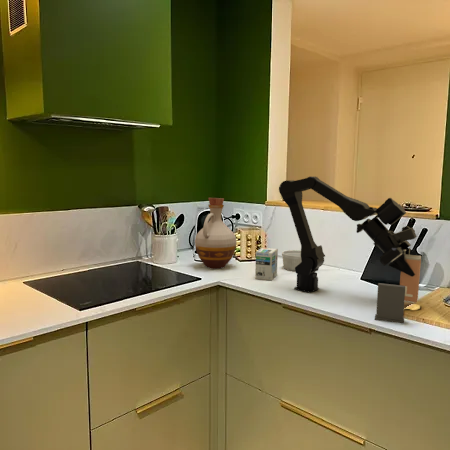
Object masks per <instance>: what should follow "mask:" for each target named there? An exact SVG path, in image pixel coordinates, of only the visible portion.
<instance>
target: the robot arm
mask: <svg viewBox="0 0 450 450" xmlns="http://www.w3.org/2000/svg"><path fill="white" fill-rule="evenodd" d="M309 190H312V191H314V193H315V192H316V194H318V195H320V196H322V197H323V198H325V199H327V200H328V201H330V202H331V203H333V204H335V206H338V207H339V209H341V211H342V212H343V213H344V214H345V215H346V216H347V217H348V218H349V219H350V220H352V221H354V222H360V221H363V222H362V223H358V224H356V233H357V234H359V233H362V231H364V232H365V233H366V234H367V236H368V237H369V238H370V239H371V240H372V242H373V246H374V247H378V248H379V249H380V251H382V255H381V256H380V257H379V258H380V259H379V262H380V263H381V264H382V266H384V267H385V266H386V265H387V266H388V267H390V268H393V269H396V270H398V271H400V273H401V272H403V273H405V274H408V275H410V276H412V277H413V276H414V275H415V273H414V272H413V270H412V269H411V267H410V266H409V264H408V263H407V261H406V260H405V254H407V255H411V254H410V253H411V246H412V244H411V243H409V241H412V240H414V239H416V238H418V236H417V234H416V230H415V229H414V227H410V226H408V225H406V226H403V227H402V228H401V231H399V232H394V231H393V230H389V229H388V228H387V227H386V225H390V226H392V225H393V224H395V223H396V222H398V220H400V219H401V218H402V217H403V216H405V215H406V214H407V212H406V210H405V208H404V207H403V206H402V204H400V203H398V202H397V201H395V200H394V199H393V198H392V197H388V198H387V199H386V200H385V202H383V203H382V204H381V205H380V206H379V207H373V206H370V205H369V204H368V203H366V202H363V201H362V200H359V199H356V198H352V197H349V196H347V195H345V194H344V193H342V192H340V191H339V190H337V189H336V188H334V187H332V186H331V185H329V184H328V183H326V182H324V181H323V180H321V179H320V178H319V177H318V176H307V177H305V178H302V179H297V180H294V179H293V180H292V179H291V180H286V179H285V180H283V181H282V182H281V183H280V184H279V186H278V192H279V195H280V196H281V198H282V201H284V202H285V204H286V205H287V207H288V208H289V210H290V211H289V212H290V215H291V218H292V221H293V223H294V226H295V227H294V228H295V229H296V234H297V237H298V241H299V243H300V246H301V248H300V251H301V261H302V262H301V263H300V264H299V265H297V266H296V267H295V271H294V272H295V273H296V286H295V287H294V288H293V289H294V290H296V291H300V292H306V293H312V292H315V291H317V290H320V288H319V277H318V273H317V272H318V271H319V269H320V267H322V266H323V265H324V262H325V257H326V254H325V253H324V251H323V246H322V245H317V243H316V242H315V241H314V237H313V234H312V231H311V228H310V225H309V222H308V221H309V220H308V219H307V216H306V211H305V209H304V206H303V192H306V191H309ZM369 217H373V218H371V219H370V218H369Z"/></svg>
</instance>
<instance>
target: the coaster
mask: <svg viewBox="0 0 450 450" xmlns="http://www.w3.org/2000/svg"><path fill="white" fill-rule="evenodd" d="M413 303H414V302H410V301H404V308H406V307H407V306H409V305H411V304H413Z"/></svg>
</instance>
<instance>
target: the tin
mask: <svg viewBox="0 0 450 450" xmlns="http://www.w3.org/2000/svg"><path fill="white" fill-rule="evenodd" d="M405 260H406V261H407V263H408V264H409V266H410V267H411V269H412V270H413V272H414V273H415V275H414V276H413V277H412V276H410V275H408V274H405V273H403V272H401V271H400V276H399V278H400V279H399V285H402V286H405V300H404V302H411V303H417V302H418V299H419V290H420V277H421V266H422V265H421V264H422V255H414V254H410V255H407V254H405Z"/></svg>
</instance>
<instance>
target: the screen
mask: <svg viewBox="0 0 450 450" xmlns="http://www.w3.org/2000/svg"><path fill="white" fill-rule="evenodd" d="M376 296H377V297H376V311H375V316H374V320H375V321H382V322H387V323H396V324H402V325H403V324H405V318H404V314H405V312H404V311H405V309H404V302H405V301H404V300H405V286H402V285H400V284H392V283H390V284H389V283H380V282H378V283H377V295H376Z"/></svg>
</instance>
